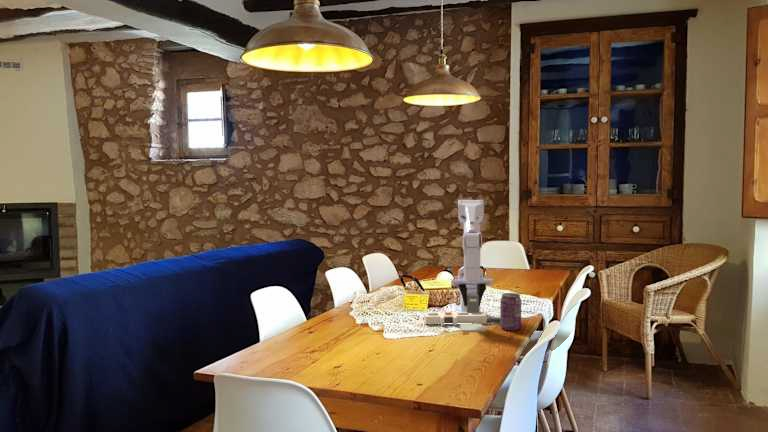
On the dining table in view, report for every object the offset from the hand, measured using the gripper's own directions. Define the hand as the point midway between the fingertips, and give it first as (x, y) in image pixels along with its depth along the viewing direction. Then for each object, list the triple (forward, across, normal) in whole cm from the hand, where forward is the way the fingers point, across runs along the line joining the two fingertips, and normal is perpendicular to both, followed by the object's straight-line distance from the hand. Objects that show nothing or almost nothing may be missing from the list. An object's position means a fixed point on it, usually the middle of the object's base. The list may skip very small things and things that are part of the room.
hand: (471, 305), depth 212 cm
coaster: (+8, 0, 0) cm, 8 cm away
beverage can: (+8, +14, -1) cm, 16 cm away
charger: (+2, 0, +1) cm, 2 cm away
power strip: (+8, -1, +8) cm, 11 cm away
